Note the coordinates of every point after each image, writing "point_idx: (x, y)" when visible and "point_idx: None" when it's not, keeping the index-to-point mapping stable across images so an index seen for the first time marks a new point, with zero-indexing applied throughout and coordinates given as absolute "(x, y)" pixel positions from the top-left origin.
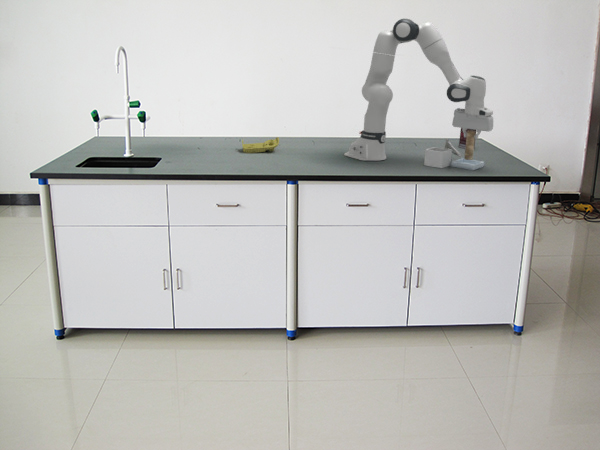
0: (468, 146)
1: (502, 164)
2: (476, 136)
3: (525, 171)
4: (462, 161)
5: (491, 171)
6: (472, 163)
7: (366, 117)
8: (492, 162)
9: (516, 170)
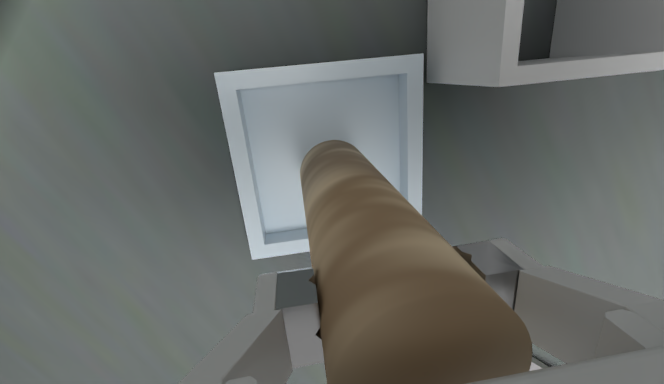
0: (346, 173)
1: None
2: (259, 301)
3: (16, 346)
4: None
5: (126, 167)
6: None
7: None
8: None
9: (65, 324)
